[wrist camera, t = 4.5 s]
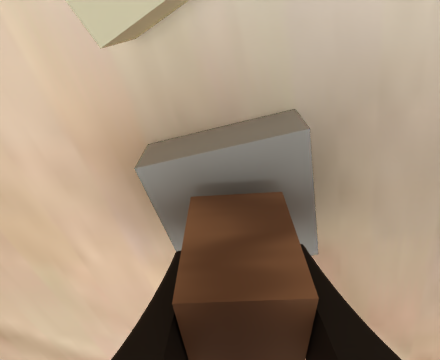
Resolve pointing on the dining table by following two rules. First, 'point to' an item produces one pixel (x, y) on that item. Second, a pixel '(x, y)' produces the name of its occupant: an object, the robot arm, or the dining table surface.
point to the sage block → (121, 17)
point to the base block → (234, 170)
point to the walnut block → (243, 281)
